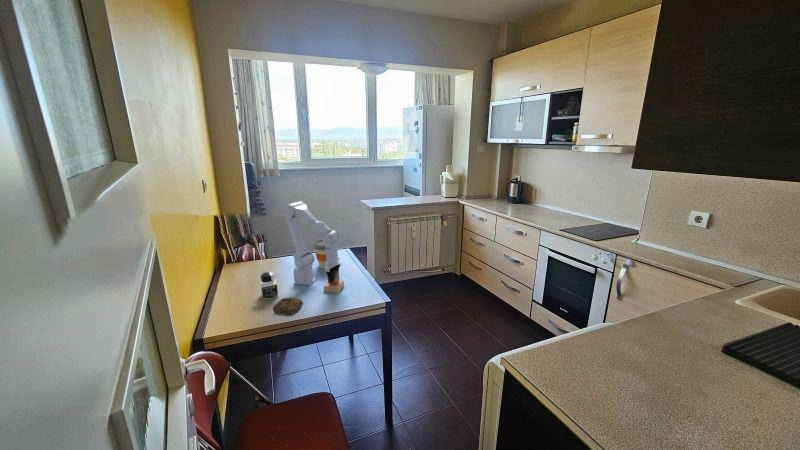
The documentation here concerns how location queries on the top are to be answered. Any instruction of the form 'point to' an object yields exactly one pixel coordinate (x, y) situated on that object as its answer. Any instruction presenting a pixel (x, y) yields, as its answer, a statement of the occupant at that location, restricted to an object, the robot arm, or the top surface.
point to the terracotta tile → (334, 287)
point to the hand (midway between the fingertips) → (333, 279)
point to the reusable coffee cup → (321, 253)
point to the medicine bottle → (268, 286)
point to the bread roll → (287, 306)
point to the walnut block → (335, 278)
